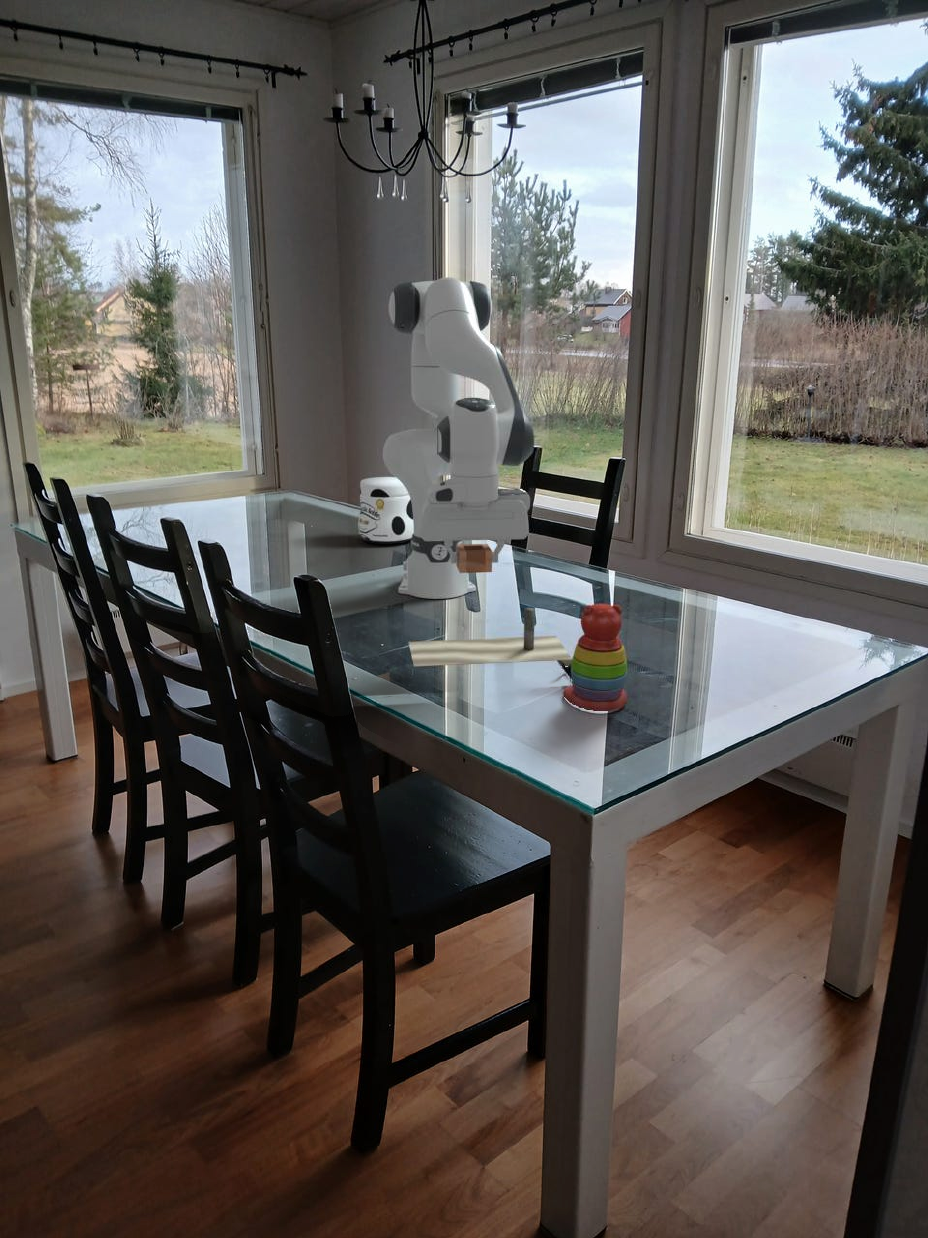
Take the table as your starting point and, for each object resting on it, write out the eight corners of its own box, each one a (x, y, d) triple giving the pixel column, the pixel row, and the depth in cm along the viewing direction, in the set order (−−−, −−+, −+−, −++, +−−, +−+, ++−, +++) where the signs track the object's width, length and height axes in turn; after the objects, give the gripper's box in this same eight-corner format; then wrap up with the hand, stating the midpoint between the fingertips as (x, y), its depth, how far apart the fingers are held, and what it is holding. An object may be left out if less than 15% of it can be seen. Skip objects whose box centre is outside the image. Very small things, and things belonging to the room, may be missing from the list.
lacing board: (408, 649, 188) (407, 603, 185) (555, 642, 192) (557, 598, 189) (413, 673, 175) (413, 625, 172) (571, 666, 178) (573, 618, 175)
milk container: (349, 545, 275) (347, 484, 270) (371, 533, 291) (370, 475, 286) (404, 549, 270) (403, 487, 265) (424, 536, 286) (424, 477, 281)
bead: (456, 565, 180) (456, 544, 179) (487, 564, 180) (487, 543, 179) (459, 573, 174) (459, 551, 173) (491, 572, 175) (492, 551, 174)
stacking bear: (622, 692, 166) (627, 595, 161) (634, 714, 157) (640, 612, 151) (561, 692, 166) (564, 595, 160) (570, 715, 156) (574, 613, 151)
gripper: (527, 485, 177) (525, 557, 181) (418, 487, 175) (419, 560, 179) (533, 491, 171) (531, 565, 175) (420, 493, 169) (421, 568, 173)
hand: (474, 562), depth 177 cm, fingers closed on bead, 6 cm apart
